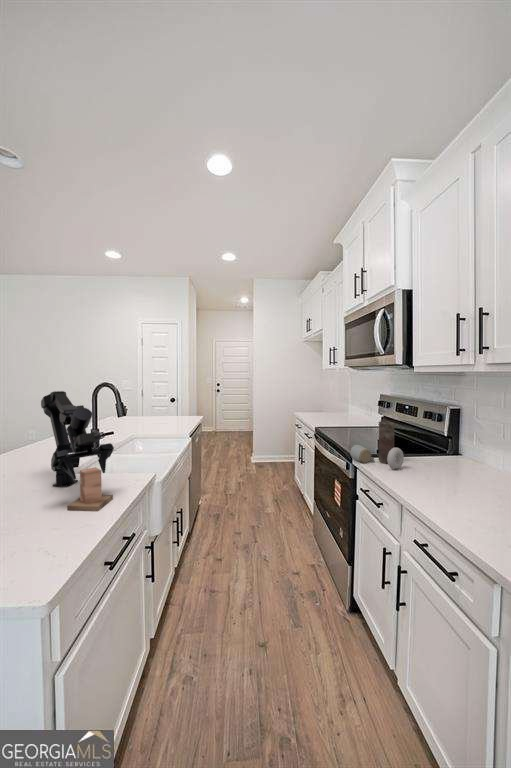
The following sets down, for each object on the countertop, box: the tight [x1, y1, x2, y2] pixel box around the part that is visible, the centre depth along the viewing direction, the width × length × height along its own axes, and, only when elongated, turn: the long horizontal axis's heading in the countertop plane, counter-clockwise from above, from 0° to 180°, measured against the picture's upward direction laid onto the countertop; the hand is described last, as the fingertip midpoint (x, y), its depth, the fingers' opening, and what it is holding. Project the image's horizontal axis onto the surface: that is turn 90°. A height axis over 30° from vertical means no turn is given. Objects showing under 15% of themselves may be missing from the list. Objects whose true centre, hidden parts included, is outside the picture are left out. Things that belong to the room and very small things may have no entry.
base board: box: [66, 494, 114, 512], centre depth 110 cm, size 10×10×2 cm
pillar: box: [79, 466, 103, 504], centre depth 109 cm, size 5×5×10 cm
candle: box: [378, 421, 395, 464], centre depth 163 cm, size 8×7×20 cm
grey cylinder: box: [349, 444, 375, 464], centre depth 164 cm, size 11×8×8 cm
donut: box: [387, 446, 405, 470], centre depth 151 cm, size 10×4×10 cm, turn 124°
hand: (90, 475), depth 110 cm, fingers open, 9 cm apart
